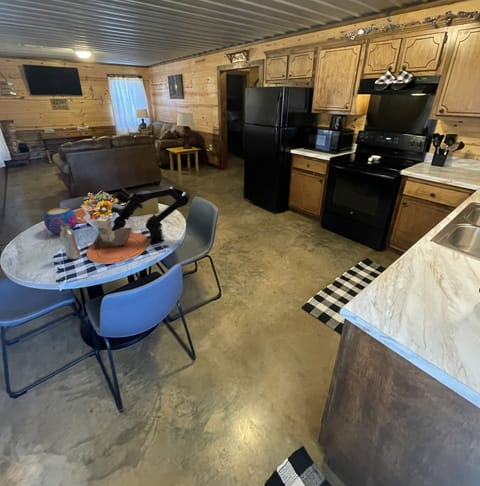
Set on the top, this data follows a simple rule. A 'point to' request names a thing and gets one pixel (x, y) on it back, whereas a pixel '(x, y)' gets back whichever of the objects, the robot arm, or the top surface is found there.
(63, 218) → the ceramic pot
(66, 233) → the plastic bottle
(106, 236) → the syrup box
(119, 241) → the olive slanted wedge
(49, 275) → the top surface
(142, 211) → the cheese
